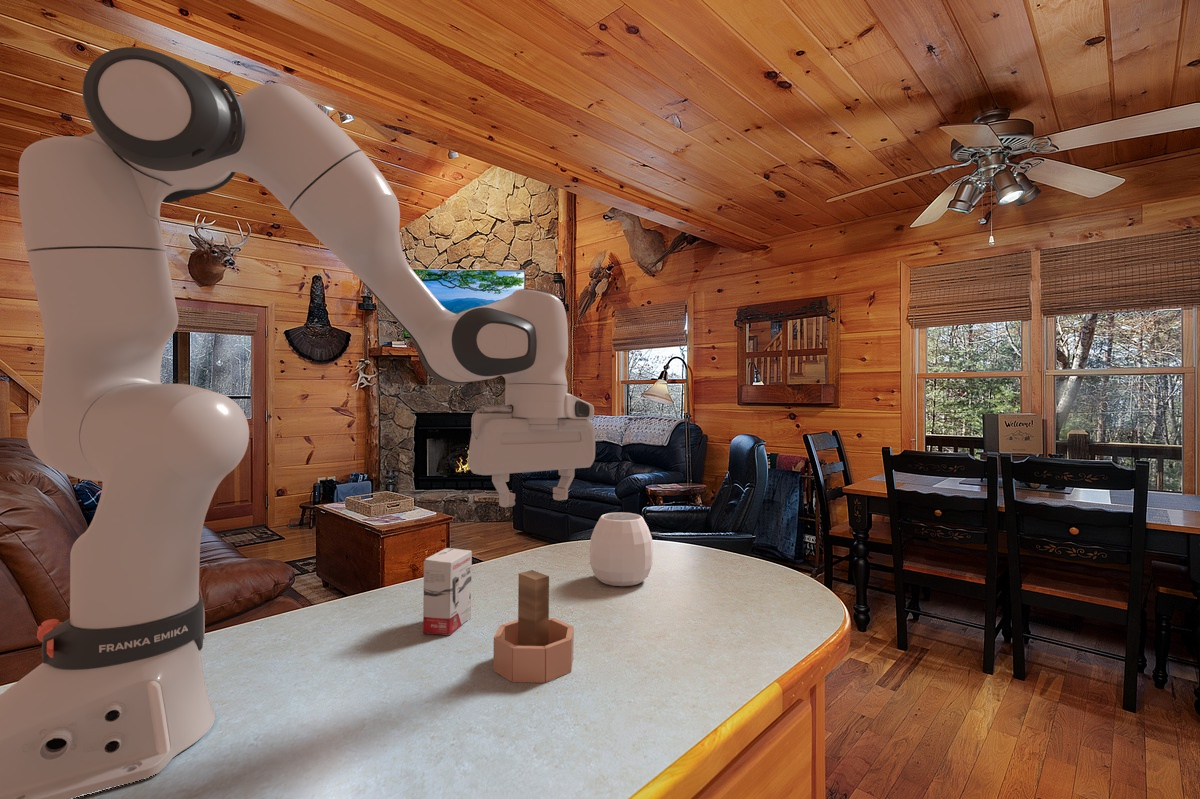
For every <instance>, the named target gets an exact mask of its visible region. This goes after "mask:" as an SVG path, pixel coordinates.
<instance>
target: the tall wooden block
mask: <svg viewBox="0 0 1200 799" xmlns="http://www.w3.org/2000/svg"><path fill="white" fill-rule="evenodd" d="M517 598H518V600H517V601H518V604H517V605H518V606H517V607H518V608H517V609H518V610H517V611H518V612H517V613H518V614H517V617H518V618H517V620H518V646H546V645H549V618H550V576H549V575H547V574H544V573H542V572H538V571H536V570H533V569H532V570H527V571H523V572H519V573H518V597H517Z"/></svg>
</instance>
